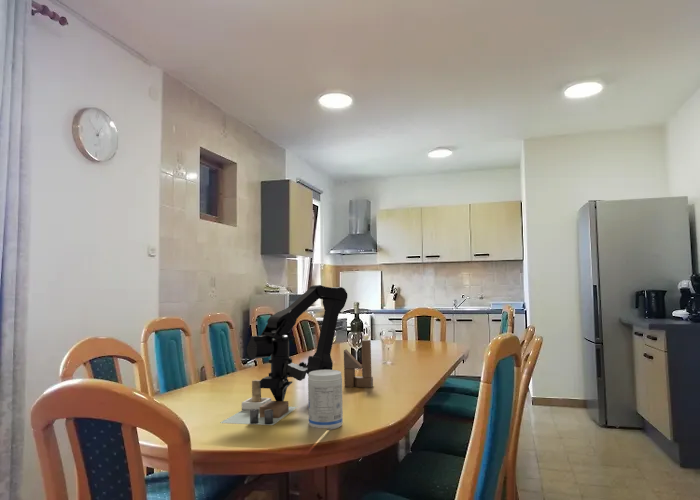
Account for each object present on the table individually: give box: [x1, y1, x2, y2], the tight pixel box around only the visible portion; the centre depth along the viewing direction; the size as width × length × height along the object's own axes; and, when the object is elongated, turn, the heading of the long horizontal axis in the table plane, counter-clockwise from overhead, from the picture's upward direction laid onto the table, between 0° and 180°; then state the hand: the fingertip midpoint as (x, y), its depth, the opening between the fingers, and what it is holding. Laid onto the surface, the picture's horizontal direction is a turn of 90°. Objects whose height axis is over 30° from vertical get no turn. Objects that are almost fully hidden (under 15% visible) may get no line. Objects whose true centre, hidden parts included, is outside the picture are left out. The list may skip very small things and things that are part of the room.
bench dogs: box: [250, 409, 273, 425], centre depth 134 cm, size 7×2×4 cm, turn 77°
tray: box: [241, 396, 272, 411], centre depth 151 cm, size 7×7×2 cm
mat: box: [220, 406, 298, 426], centre depth 143 cm, size 16×21×1 cm
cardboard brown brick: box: [260, 400, 289, 418], centre depth 143 cm, size 6×8×3 cm
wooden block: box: [343, 339, 374, 389], centre depth 187 cm, size 4×11×18 cm, turn 75°
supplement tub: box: [307, 369, 344, 431], centre depth 133 cm, size 10×10×15 cm
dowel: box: [251, 379, 262, 402], centre depth 151 cm, size 3×3×8 cm
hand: (280, 406), depth 148 cm, fingers closed
